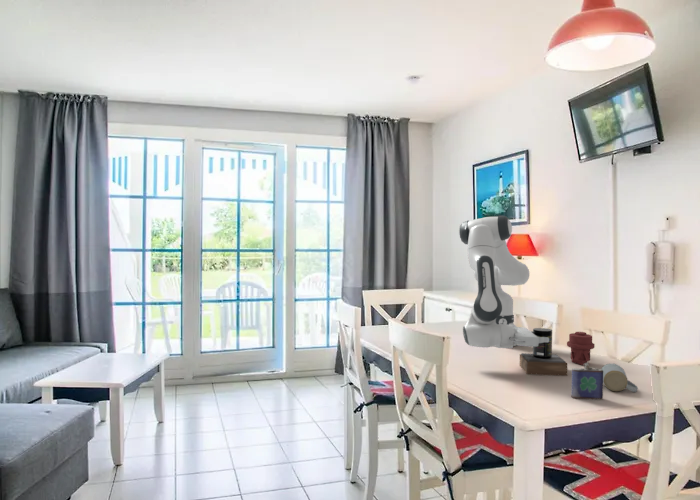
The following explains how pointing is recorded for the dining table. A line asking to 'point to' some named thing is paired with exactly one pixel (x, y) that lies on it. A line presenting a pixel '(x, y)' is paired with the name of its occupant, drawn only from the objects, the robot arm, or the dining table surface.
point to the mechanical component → (580, 347)
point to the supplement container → (543, 344)
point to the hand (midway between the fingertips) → (545, 337)
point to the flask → (587, 383)
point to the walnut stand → (543, 365)
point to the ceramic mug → (616, 378)
